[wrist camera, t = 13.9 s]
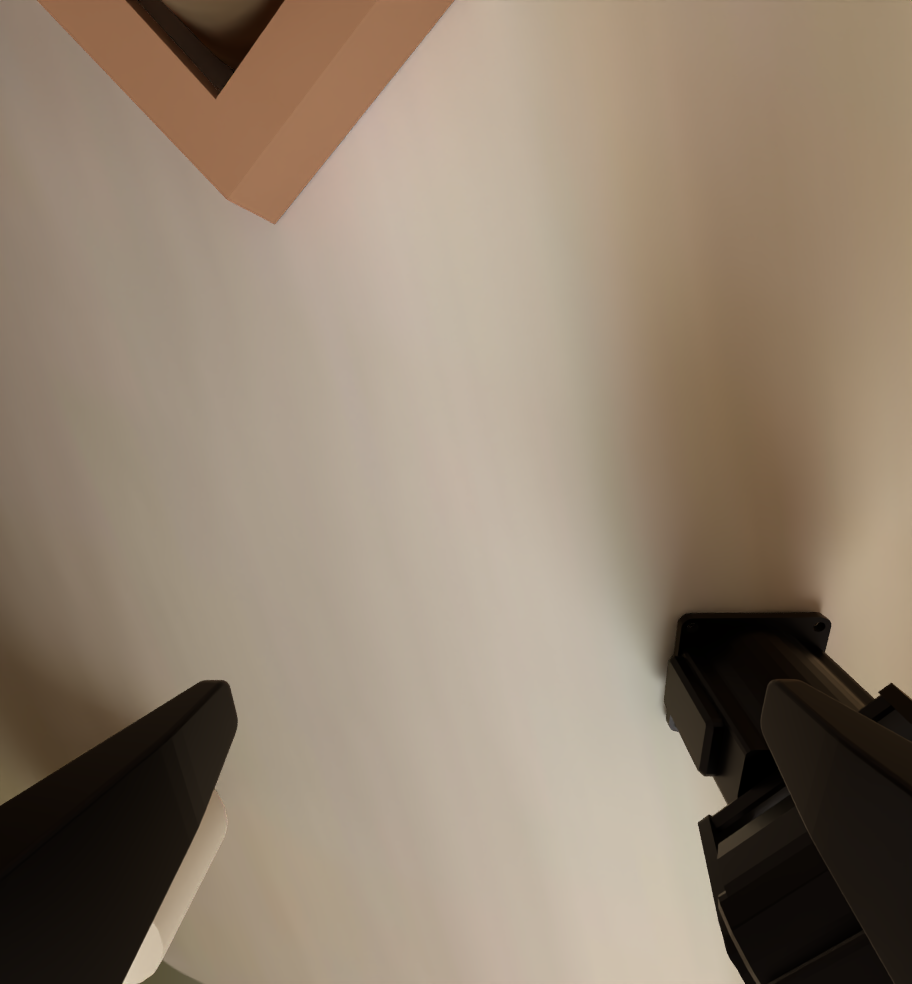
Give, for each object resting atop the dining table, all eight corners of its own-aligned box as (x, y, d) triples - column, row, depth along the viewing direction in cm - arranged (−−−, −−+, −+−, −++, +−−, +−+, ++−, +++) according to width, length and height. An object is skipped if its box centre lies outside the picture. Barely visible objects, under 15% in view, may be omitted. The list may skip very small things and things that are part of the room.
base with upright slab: (52, 754, 27) (-261, 1065, 16) (202, 746, 26) (-12, 1066, 15) (108, 864, 30) (-122, 1195, 18) (245, 860, 29) (93, 1202, 18)
